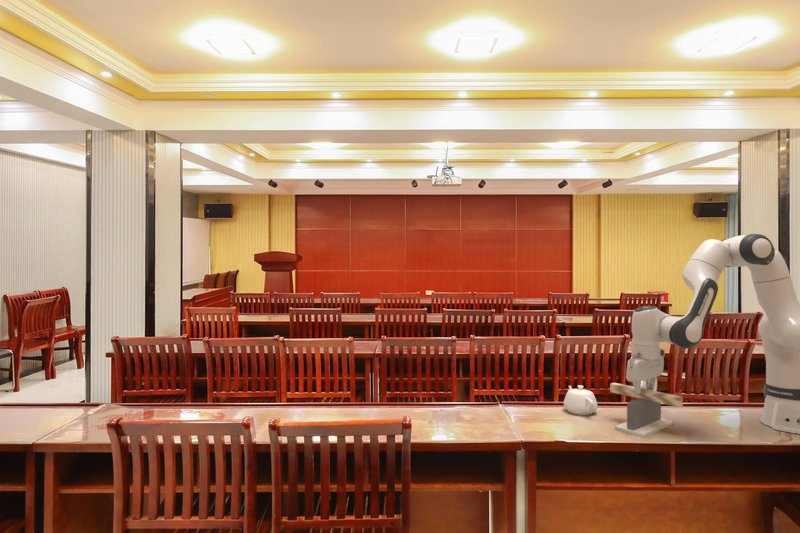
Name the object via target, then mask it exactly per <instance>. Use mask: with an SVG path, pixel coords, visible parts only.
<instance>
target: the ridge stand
mask: <svg viewBox="0 0 800 533" xmlns="http://www.w3.org/2000/svg"><path fill="white" fill-rule="evenodd" d="M626 403H627V404H626V421H625V422H622V423H619V424H617V425H614V430H616V431H620V432H624V433H627V434H631V435H634V436H638V437H641V438H645V437H648V436H649V435H652V434H654V433H657V432H658V431H661V430H663V429H665V428H668V427H670V426H672V425H674V421H673V420H669V419H665V418H662V403H658V402H654V401H649V400H644V399H640V398H635V399H634V400H630V401H628V402H626Z"/></svg>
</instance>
